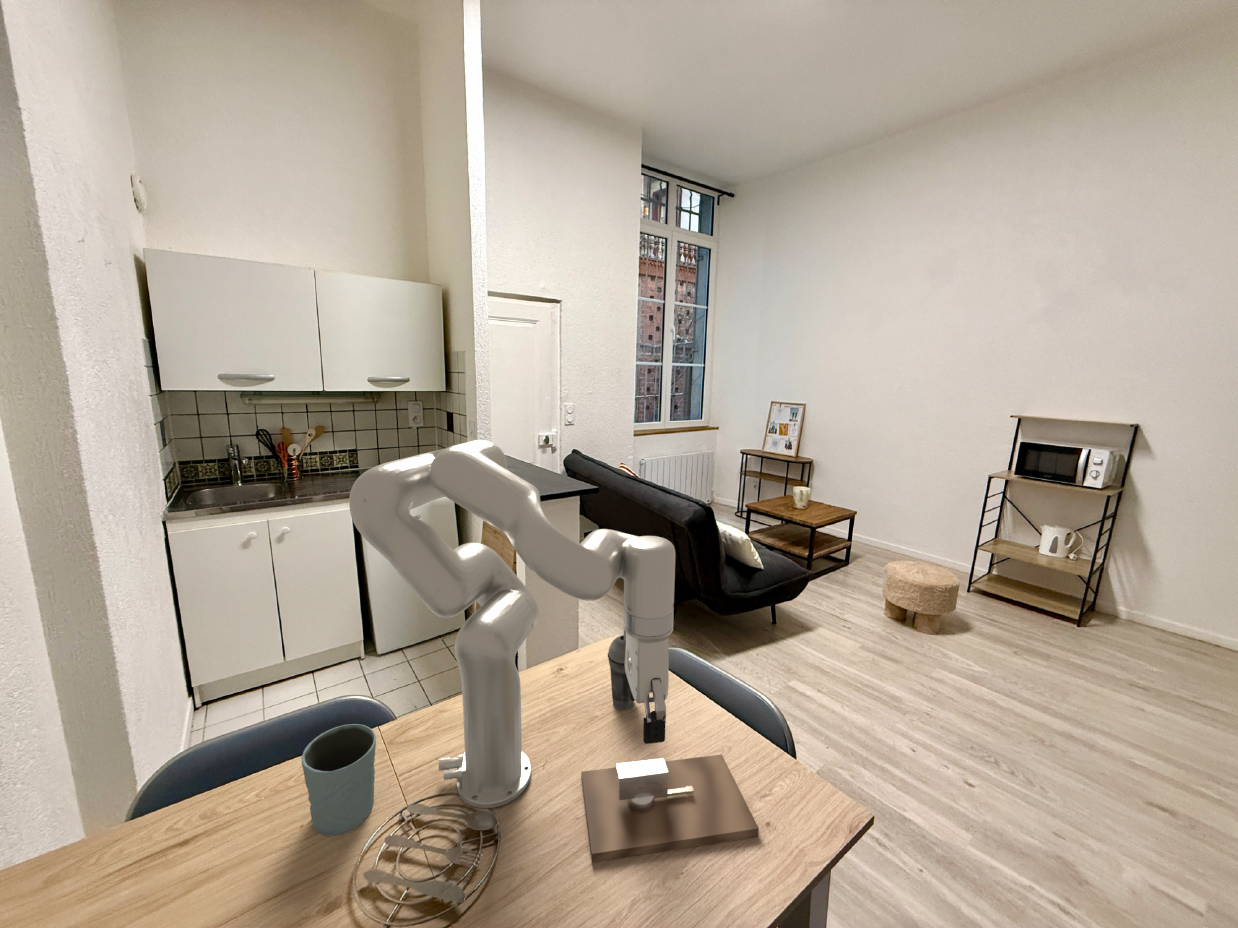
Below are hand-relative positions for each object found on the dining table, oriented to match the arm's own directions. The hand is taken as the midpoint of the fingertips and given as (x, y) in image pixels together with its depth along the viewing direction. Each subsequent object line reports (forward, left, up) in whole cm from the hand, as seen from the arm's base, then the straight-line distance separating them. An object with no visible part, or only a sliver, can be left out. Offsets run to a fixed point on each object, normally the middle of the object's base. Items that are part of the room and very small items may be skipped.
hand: (646, 718), depth 76 cm
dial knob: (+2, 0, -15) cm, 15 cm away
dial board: (+4, 0, -17) cm, 17 cm away
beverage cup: (+2, +26, -17) cm, 31 cm away
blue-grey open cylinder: (-47, +7, -17) cm, 51 cm away
